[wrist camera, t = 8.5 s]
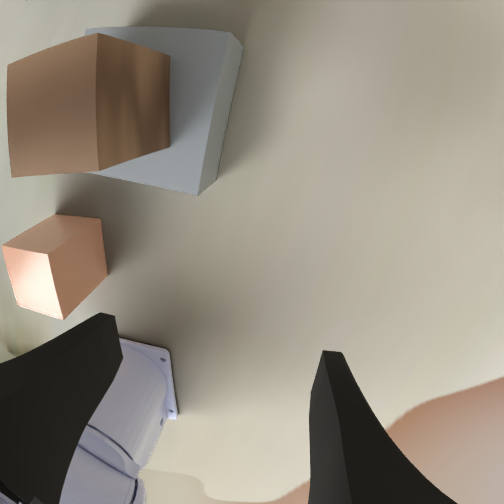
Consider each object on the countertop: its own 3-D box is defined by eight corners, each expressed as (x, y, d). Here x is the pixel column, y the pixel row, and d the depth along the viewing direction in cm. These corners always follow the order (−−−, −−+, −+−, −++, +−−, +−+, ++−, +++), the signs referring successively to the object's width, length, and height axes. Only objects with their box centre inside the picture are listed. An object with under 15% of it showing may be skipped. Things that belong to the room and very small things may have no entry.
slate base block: (217, 179, 19) (197, 196, 15) (103, 156, 19) (67, 168, 16) (245, 47, 16) (230, 32, 12) (122, 38, 16) (86, 29, 12)
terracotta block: (108, 275, 23) (63, 320, 17) (63, 266, 23) (18, 305, 18) (101, 218, 21) (47, 254, 15) (55, 214, 21) (1, 245, 16)
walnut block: (170, 147, 14) (98, 171, 9) (93, 151, 15) (11, 177, 10) (170, 55, 13) (97, 32, 7) (91, 69, 13) (7, 65, 8)
